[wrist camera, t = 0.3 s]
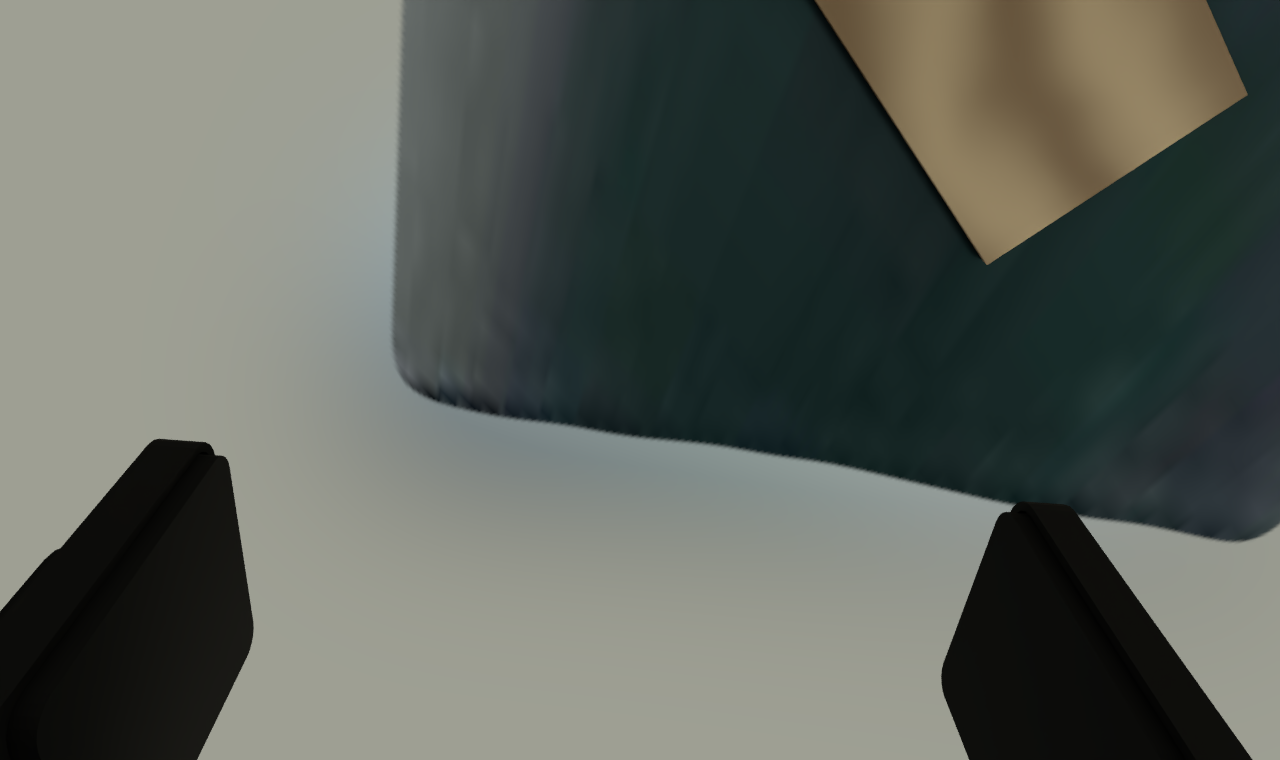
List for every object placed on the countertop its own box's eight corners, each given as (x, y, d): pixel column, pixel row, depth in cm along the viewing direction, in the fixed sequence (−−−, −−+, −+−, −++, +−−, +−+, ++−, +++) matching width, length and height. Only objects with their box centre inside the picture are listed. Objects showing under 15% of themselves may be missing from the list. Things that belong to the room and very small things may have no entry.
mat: (1074, -278, 31) (1082, -280, 30) (1238, 91, 37) (1247, 94, 37) (787, -41, 35) (790, -39, 34) (982, 260, 41) (987, 264, 40)
